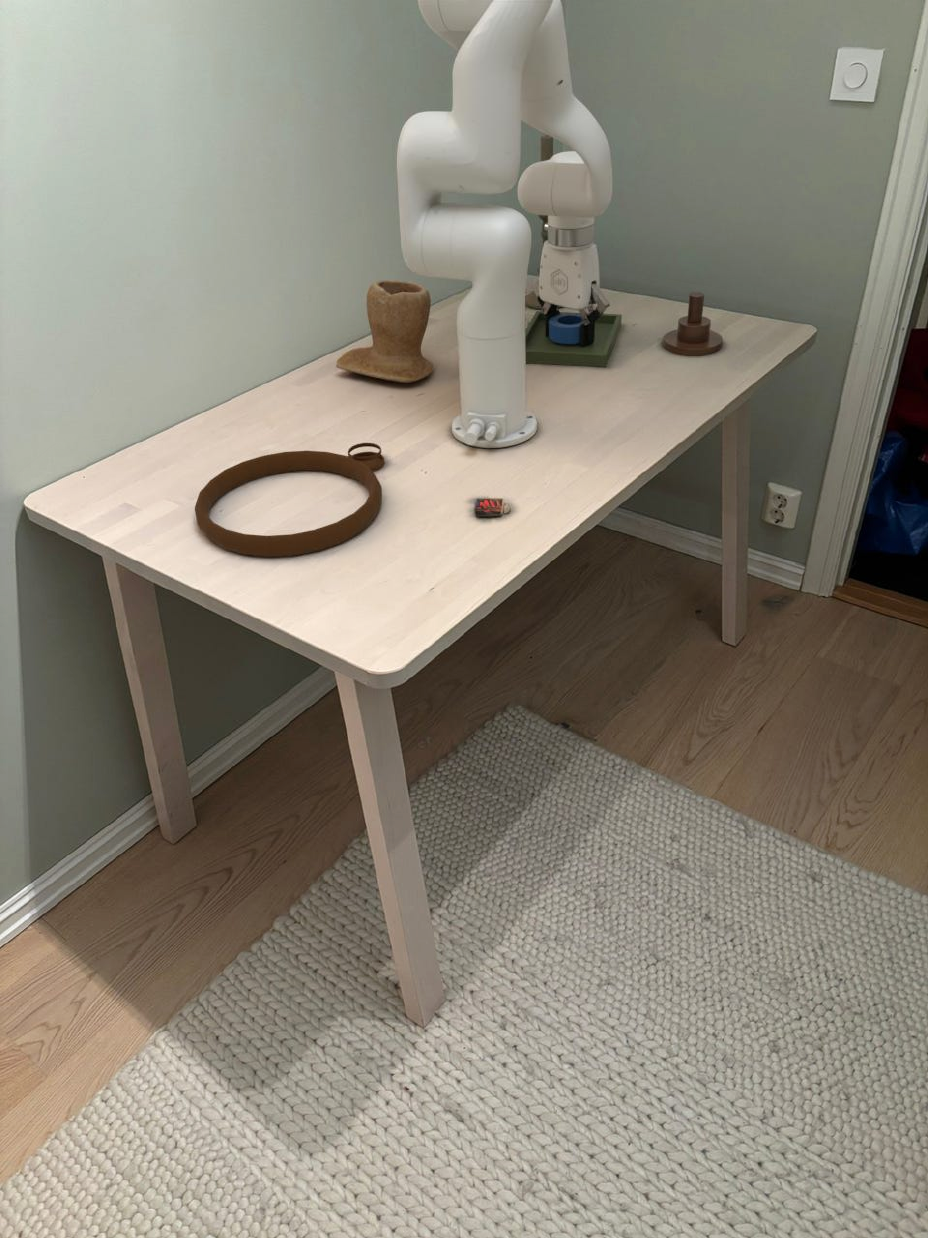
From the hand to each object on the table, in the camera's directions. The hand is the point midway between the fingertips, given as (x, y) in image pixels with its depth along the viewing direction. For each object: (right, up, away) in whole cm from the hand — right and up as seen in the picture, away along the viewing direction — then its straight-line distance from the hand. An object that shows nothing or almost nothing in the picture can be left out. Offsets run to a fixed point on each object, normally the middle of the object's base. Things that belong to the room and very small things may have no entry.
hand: (569, 338), depth 176 cm
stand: (+21, -2, -3) cm, 21 cm away
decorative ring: (-40, -33, -41) cm, 66 cm away
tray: (0, -1, 0) cm, 1 cm away
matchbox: (-15, -35, -45) cm, 59 cm away
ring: (0, 0, 0) cm, 0 cm away
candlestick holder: (-2, +12, +19) cm, 22 cm away
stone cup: (-30, -8, -7) cm, 32 cm away
